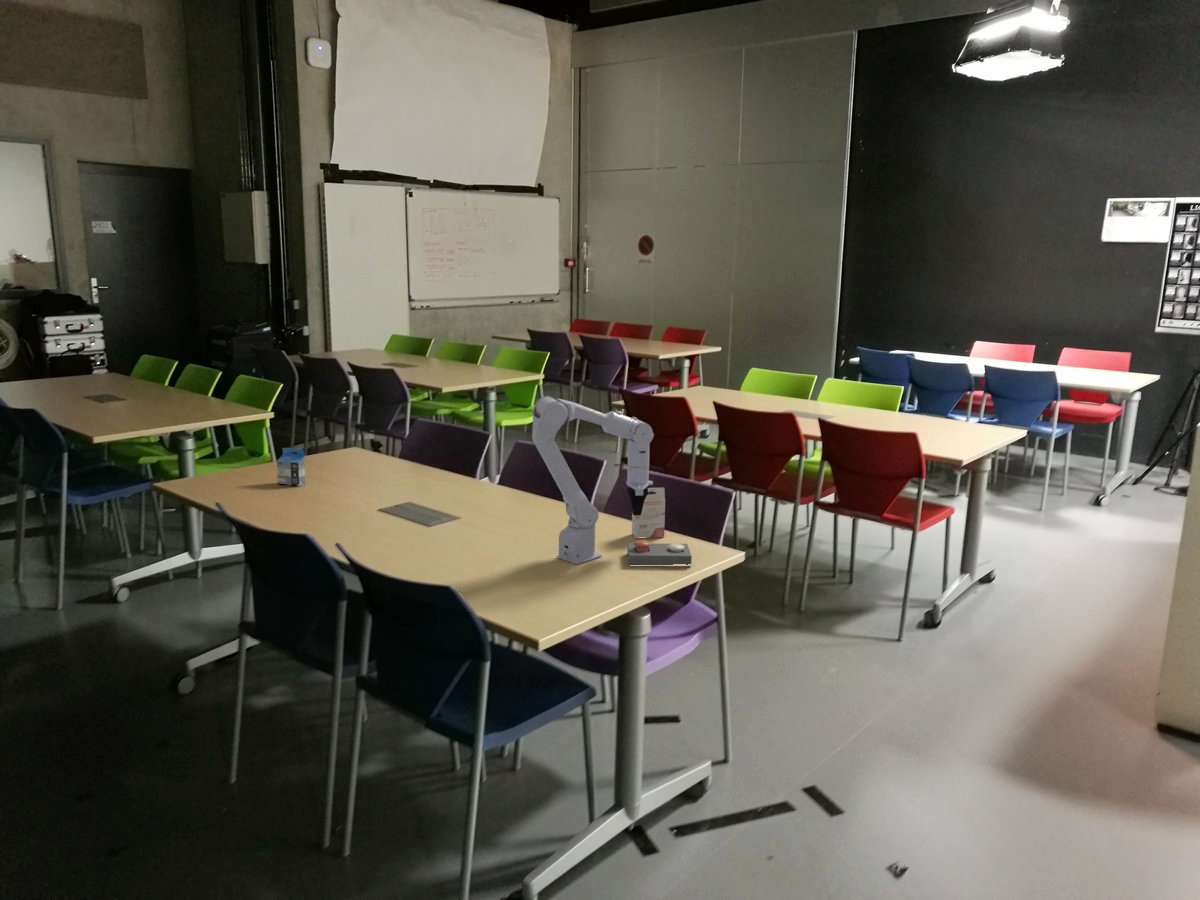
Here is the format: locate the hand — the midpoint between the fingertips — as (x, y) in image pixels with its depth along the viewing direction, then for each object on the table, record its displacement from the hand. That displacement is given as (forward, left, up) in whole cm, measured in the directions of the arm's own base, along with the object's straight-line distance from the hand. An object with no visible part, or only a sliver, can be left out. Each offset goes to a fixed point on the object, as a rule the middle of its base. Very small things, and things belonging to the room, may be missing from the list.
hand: (636, 514), depth 236 cm
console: (-1, -9, -10) cm, 14 cm away
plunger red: (-4, -6, -9) cm, 12 cm away
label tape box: (-34, +128, -11) cm, 133 cm away
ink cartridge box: (+13, +7, -11) cm, 18 cm away
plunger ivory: (+2, -12, -10) cm, 16 cm away
